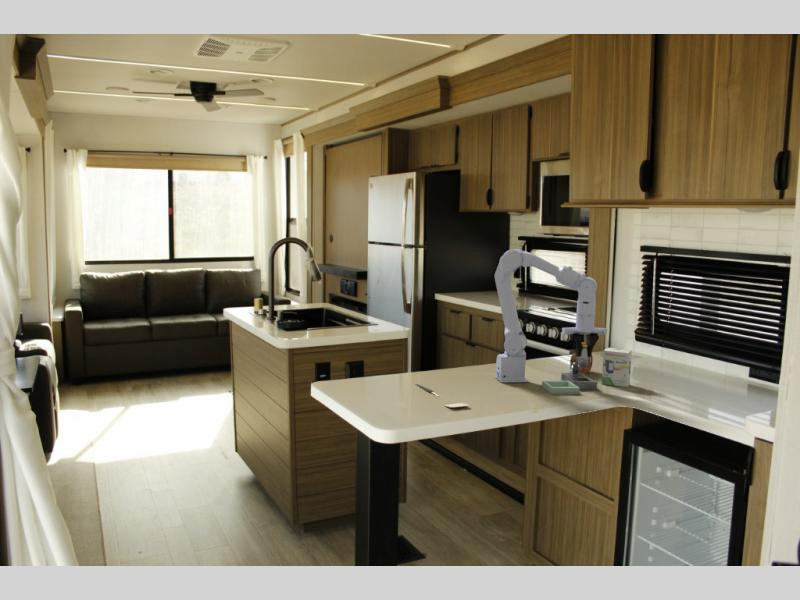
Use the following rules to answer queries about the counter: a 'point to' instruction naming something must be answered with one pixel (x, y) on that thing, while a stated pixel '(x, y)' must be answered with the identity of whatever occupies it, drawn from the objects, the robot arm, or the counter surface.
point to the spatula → (438, 395)
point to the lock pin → (583, 355)
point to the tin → (582, 369)
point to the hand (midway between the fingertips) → (582, 356)
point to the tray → (560, 387)
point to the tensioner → (579, 378)
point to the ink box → (616, 367)
